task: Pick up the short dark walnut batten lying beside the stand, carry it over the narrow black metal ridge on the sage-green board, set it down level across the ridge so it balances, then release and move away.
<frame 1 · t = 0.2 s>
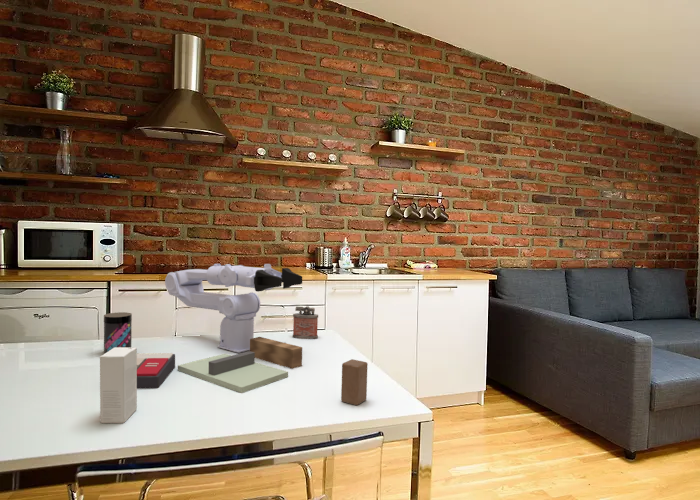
hand: (291, 281, 119), 21 cm above the table, tool horizontal, fingers open, 7 cm apart
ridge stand: (232, 373, 109), on the table
walnut batten: (275, 361, 120), on the table
wooden block: (353, 401, 94), on the table
skincare box: (118, 417, 83), on the table
supplement container: (117, 353, 123), on the table
lighter: (305, 338, 146), on the table
red and black box: (142, 379, 105), on the table
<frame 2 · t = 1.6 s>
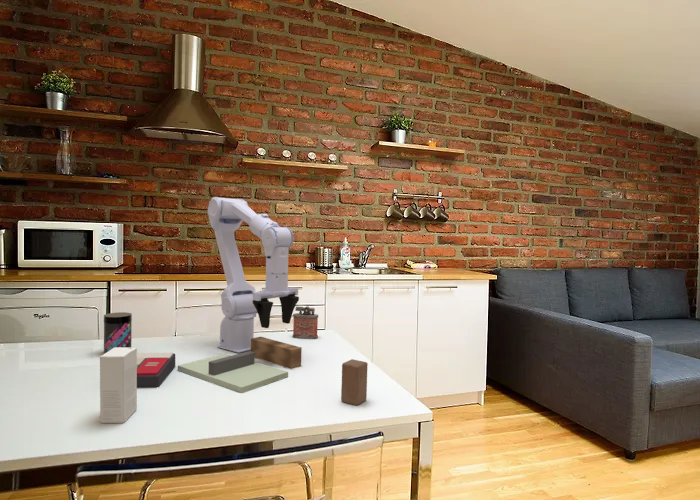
hand: (275, 325, 120), 9 cm above the table, tool pointing down, fingers open, 7 cm apart
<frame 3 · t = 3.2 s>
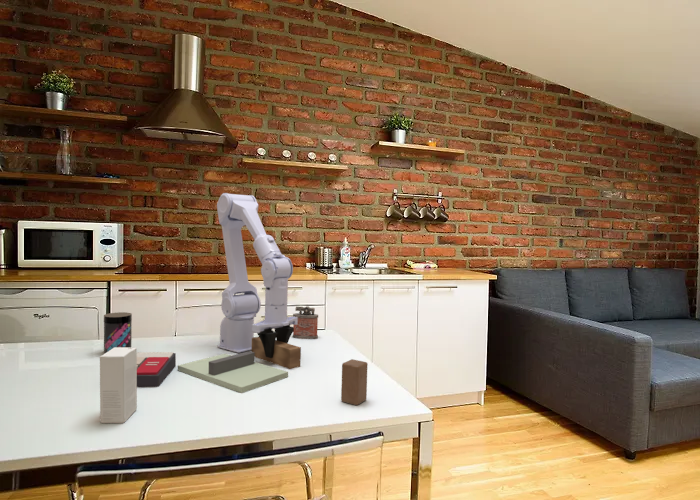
hand: (275, 355, 120), 1 cm above the table, tool pointing down, fingers closed on walnut batten, 4 cm apart
walnut batten: (275, 361, 120), on the table, touching gripper
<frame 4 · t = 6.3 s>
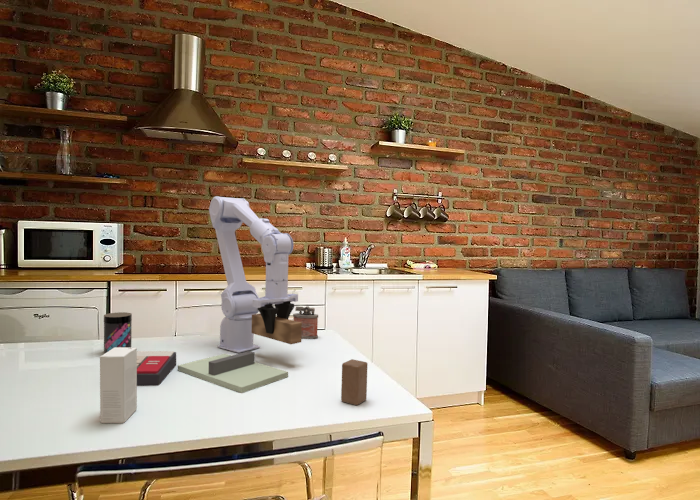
hand: (275, 331, 120), 8 cm above the table, tool pointing down, fingers closed on walnut batten, 4 cm apart
walnut batten: (275, 337, 120), point 6 cm above the table, touching gripper
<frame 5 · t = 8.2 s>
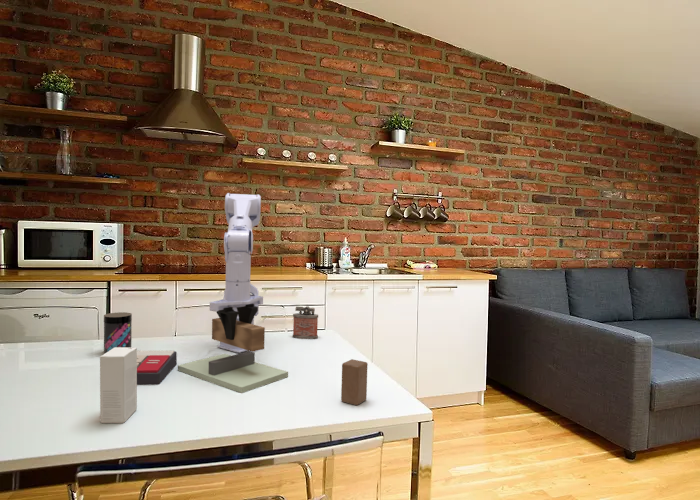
hand: (237, 337, 109), 8 cm above the table, tool pointing down, fingers closed on walnut batten, 4 cm apart
walnut batten: (237, 343, 109), point 7 cm above the table, touching gripper
when the fingers open (6 cm above the table, at t = 9.6 s): walnut batten stays where it is, resting on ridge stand.
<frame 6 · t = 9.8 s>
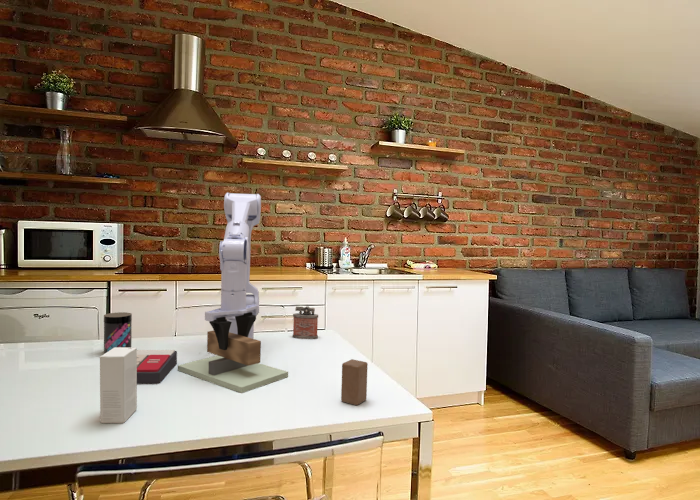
hand: (232, 346, 108), 6 cm above the table, tool pointing down, fingers open, 5 cm apart
walnut batten: (232, 357, 108), point 4 cm above the table, touching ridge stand
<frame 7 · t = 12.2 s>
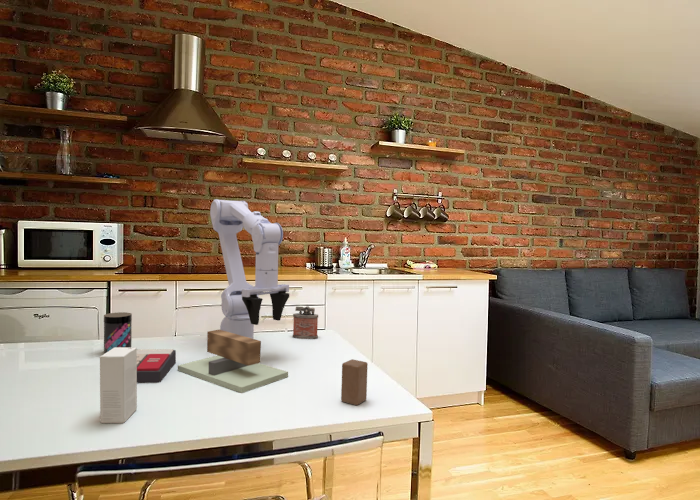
hand: (265, 322, 119), 10 cm above the table, tool pointing down, fingers open, 7 cm apart
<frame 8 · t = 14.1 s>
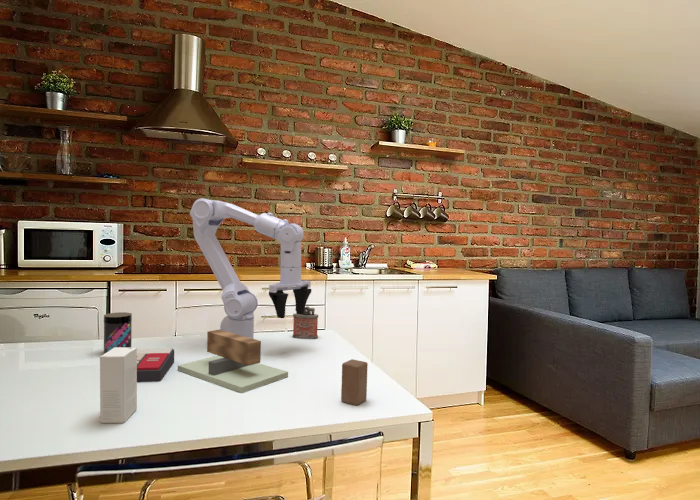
hand: (290, 315, 128), 10 cm above the table, tool pointing down, fingers open, 7 cm apart
at the end: walnut batten 0.1 cm from the target spot, point 4.0 cm above the table; walnut batten tilted 0°; the gripper is holding nothing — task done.
